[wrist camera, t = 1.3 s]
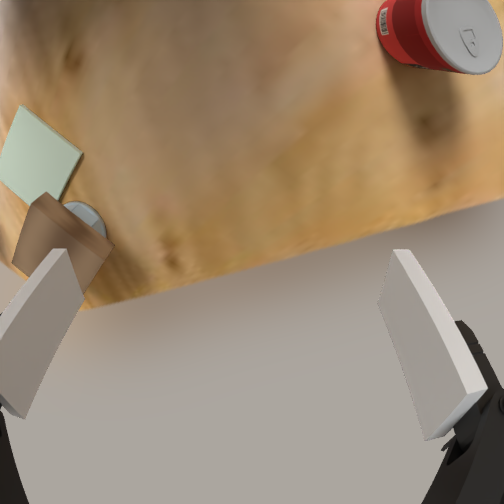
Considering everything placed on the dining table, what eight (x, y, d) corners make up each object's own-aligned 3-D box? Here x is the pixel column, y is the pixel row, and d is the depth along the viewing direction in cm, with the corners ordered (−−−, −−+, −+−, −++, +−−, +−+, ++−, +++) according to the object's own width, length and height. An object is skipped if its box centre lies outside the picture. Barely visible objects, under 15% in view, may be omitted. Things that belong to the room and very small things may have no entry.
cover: (23, 249, 32) (11, 262, 30) (46, 191, 28) (31, 203, 26) (83, 295, 36) (73, 310, 33) (115, 244, 32) (104, 260, 29)
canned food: (404, 80, 26) (464, 92, 17) (357, 17, 23) (403, -2, 14) (450, 48, 23) (517, 52, 14) (408, -13, 20) (466, -34, 11)
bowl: (49, 231, 36) (32, 249, 32) (69, 189, 33) (50, 205, 29) (92, 263, 39) (78, 284, 35) (116, 225, 36) (101, 245, 32)
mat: (-3, 173, 31) (-6, 174, 31) (22, 104, 27) (19, 105, 26) (50, 218, 35) (47, 221, 35) (83, 152, 31) (80, 154, 30)
